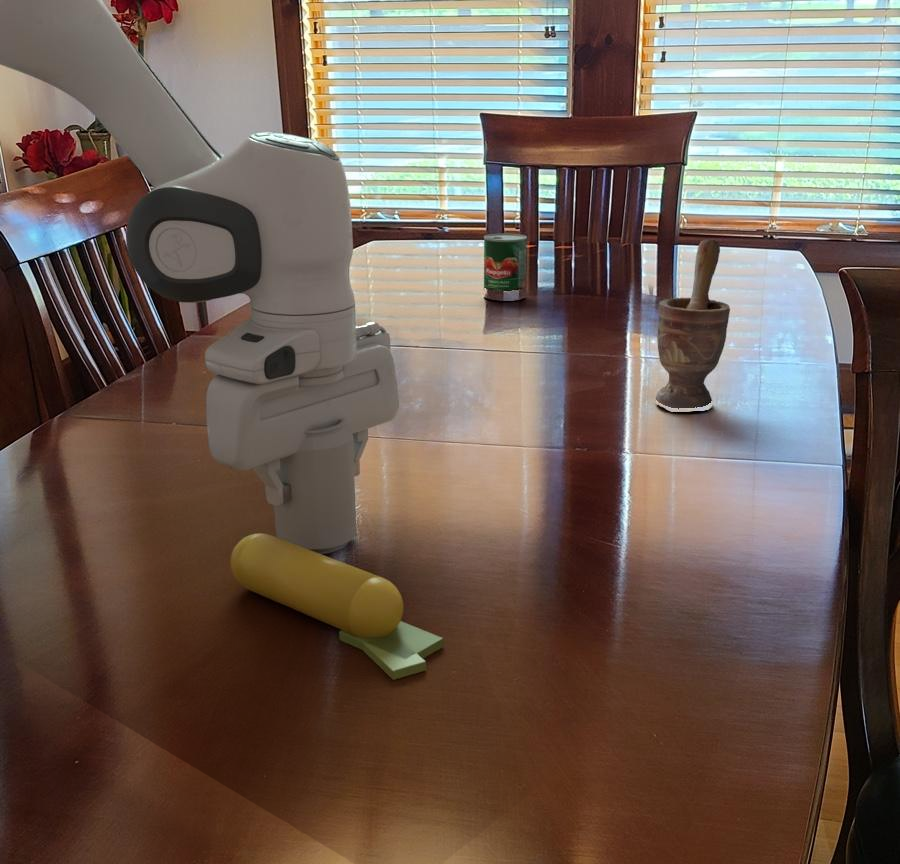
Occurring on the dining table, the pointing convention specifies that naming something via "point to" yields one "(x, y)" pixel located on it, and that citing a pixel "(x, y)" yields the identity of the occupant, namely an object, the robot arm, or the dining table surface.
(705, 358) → the mortar and pestle
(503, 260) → the canned tomato
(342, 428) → the can
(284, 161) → the robot arm
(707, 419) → the dining table surface
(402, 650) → the corn cob
